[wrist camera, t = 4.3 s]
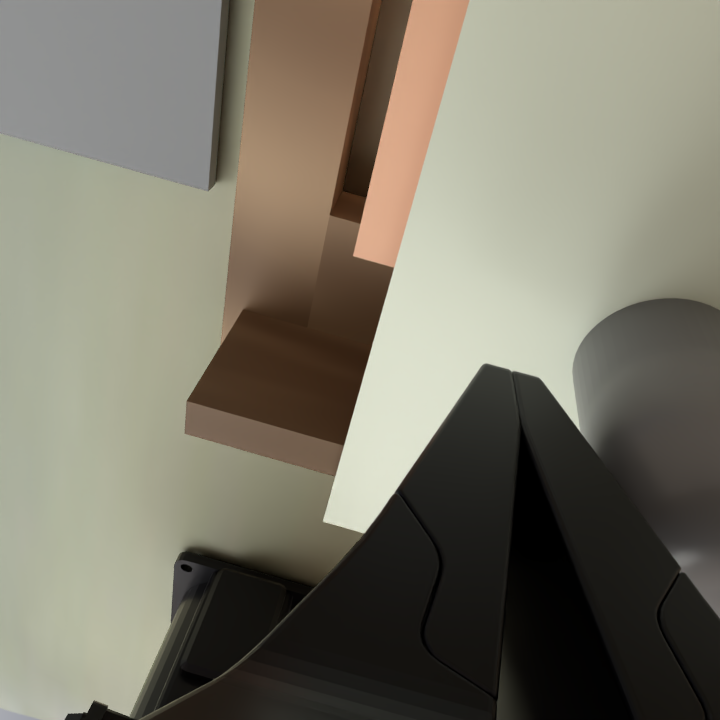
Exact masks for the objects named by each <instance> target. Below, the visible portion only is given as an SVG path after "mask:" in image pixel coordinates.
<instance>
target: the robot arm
mask: <svg viewBox="0 0 720 720" xmlns="http://www.w3.org/2000/svg"><path fill="white" fill-rule="evenodd" d="M680 571H681V567H680V565H679V564H678V563H677V561H676V560H675V559H674V557H673V556H672V555H671V553H670V552H669V550H668V549H667V548H666V546H665V545H664V544H663V542H662V541H661V540H660V538H659V537H658V536H657V534H656V533H655V532H654V530H653V529H652V528H651V526H650V525H649V524H648V522H647V521H646V520H645V518H644V517H643V515H642V514H641V513H640V511H639V510H638V509H637V507H636V506H635V505H634V503H633V502H632V501H631V499H630V498H629V497H628V495H627V494H626V493H625V491H624V490H623V489H622V487H621V486H620V485H619V483H618V482H617V481H616V479H615V478H614V476H613V475H612V474H611V472H610V471H609V470H608V468H607V467H606V466H605V464H604V463H603V462H602V460H601V459H600V458H599V456H598V455H597V454H596V452H595V451H594V450H593V448H592V447H591V446H590V444H589V443H588V441H587V440H586V439H585V437H584V436H583V435H582V433H581V432H580V431H579V429H578V428H577V427H576V425H575V424H574V423H573V421H572V420H571V419H570V417H569V416H568V415H567V413H566V412H565V411H564V409H563V408H562V407H561V405H560V404H559V402H558V401H557V400H556V398H555V397H554V396H553V394H552V393H551V392H550V390H549V389H548V388H547V386H546V385H545V384H544V382H543V381H542V380H541V379H540V378H539V377H536V376H532V375H529V374H525V373H521V372H517V371H511V370H509V369H506V368H502V367H499V366H495V365H491V364H487V363H485V364H483V365H482V366H481V367H480V369H479V370H478V371H477V373H476V374H475V376H474V377H473V379H472V380H471V382H470V383H469V385H468V386H467V387H466V389H465V390H464V392H463V393H462V395H461V396H460V398H459V399H458V401H457V402H456V404H455V405H454V406H453V408H452V409H451V411H450V412H449V414H448V415H447V417H446V418H445V420H444V421H443V422H442V424H441V425H440V427H439V428H438V430H437V431H436V433H435V434H434V436H433V437H432V438H431V440H430V441H429V443H428V444H427V446H426V447H425V449H424V450H423V452H422V453H421V454H420V456H419V457H418V459H417V460H416V462H415V463H414V465H413V466H412V468H411V469H410V471H409V472H408V473H407V475H406V476H405V478H404V479H403V481H402V482H401V484H400V485H399V487H398V488H397V489H396V491H395V493H394V494H393V495H392V496H391V497H390V499H389V500H388V502H387V503H386V505H385V506H384V508H383V509H382V511H381V512H380V513H379V515H378V516H377V517H376V519H375V520H374V521H373V523H372V524H371V525H370V527H369V528H368V529H367V531H366V532H365V533H364V535H363V536H362V537H361V538H360V540H359V541H358V542H357V543H356V544H355V545H354V546H353V547H352V548H351V550H350V551H349V552H348V553H347V554H346V555H345V556H344V557H343V558H342V560H341V561H340V562H339V563H338V564H337V565H336V566H335V567H334V568H333V569H332V570H331V571H330V572H329V573H328V574H327V575H326V576H325V577H324V578H323V579H322V580H321V581H320V583H319V584H318V585H317V586H316V587H315V588H312V587H308V586H305V585H301V584H298V583H295V582H291V581H288V580H284V579H281V578H277V577H274V576H270V575H267V574H263V573H260V572H256V571H253V570H249V569H246V568H242V567H239V566H235V565H232V564H228V563H225V562H221V561H218V560H215V559H211V558H208V557H204V556H201V555H197V554H194V553H190V552H182V553H180V554H179V556H178V558H177V560H176V562H175V565H174V580H173V597H172V614H171V625H170V628H169V630H168V632H167V634H166V636H165V639H164V641H163V643H162V645H161V648H160V650H159V652H158V654H157V656H156V659H155V661H154V663H153V665H152V668H151V670H150V672H149V674H148V677H147V679H146V681H145V683H144V685H143V688H142V690H141V692H140V694H139V697H138V699H137V701H136V703H135V705H134V708H133V710H132V712H131V714H130V717H128V716H126V715H123V714H120V713H118V712H115V711H112V710H110V709H107V708H108V705H105V704H102V703H100V702H97V701H93V703H92V705H91V707H90V709H89V711H88V713H85V712H84V713H78V714H68V715H67V717H66V718H65V720H720V618H719V617H718V615H717V614H716V613H715V611H714V610H713V609H712V608H711V606H710V605H709V604H708V602H707V601H706V600H705V599H704V597H703V596H702V594H701V593H700V592H699V590H698V589H697V588H696V586H695V585H694V584H693V582H692V581H691V580H690V578H689V577H688V576H687V574H686V573H684V572H681V573H680Z"/></svg>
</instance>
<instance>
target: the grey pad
mask: <svg viewBox="0 0 720 720" xmlns="http://www.w3.org/2000/svg"><path fill="white" fill-rule="evenodd" d="M229 1H230V0H0V133H1V134H5V135H8V136H12V137H16V138H19V139H23V140H26V141H30V142H33V143H37V144H41V145H44V146H48V147H51V148H55V149H58V150H62V151H66V152H69V153H73V154H76V155H80V156H83V157H87V158H91V159H94V160H98V161H101V162H105V163H109V164H112V165H116V166H119V167H123V168H126V169H130V170H134V171H137V172H141V173H144V174H148V175H151V176H155V177H159V178H162V179H166V180H169V181H173V182H176V183H180V184H184V185H187V186H191V187H194V188H198V189H201V190H205V191H209V190H210V189H211V188H212V187H213V186H214V185H215V180H216V167H217V154H218V142H219V129H220V116H221V103H222V90H223V78H224V65H225V52H226V39H227V27H228V14H229Z"/></svg>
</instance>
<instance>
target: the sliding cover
mask: <svg viewBox="0 0 720 720" xmlns="http://www.w3.org/2000/svg"><path fill="white" fill-rule="evenodd" d="M485 363H487V364H491V365H495V366H499V367H502V368H506V369H509V370H511V371H517V372H521V373H525V374H529V375H532V376H536V377H539V378H540V379H541V380H542V381H543V382H544V384H545V385H546V386H547V388H548V389H549V390H550V392H551V393H552V394H553V396H554V397H555V398H556V400H557V401H558V402H559V404H560V405H561V407H562V408H563V409H564V411H565V412H566V413H567V415H568V416H569V417H570V419H571V420H572V421H573V423H574V424H575V425H576V427H577V428H578V429H579V431H580V432H581V433H582V435H583V436H584V437H585V439H586V440H587V441H588V443H589V444H590V446H591V447H592V448H593V450H594V451H595V452H596V454H597V455H598V456H599V458H600V459H601V460H602V462H603V463H604V464H605V466H606V467H607V468H608V470H609V471H610V472H611V474H612V475H613V476H614V478H615V479H616V481H617V482H618V483H619V485H620V486H621V487H622V489H623V490H624V491H625V493H626V494H627V495H628V497H629V498H630V499H631V501H632V502H633V503H634V505H635V506H636V507H637V509H638V510H639V511H640V513H641V514H642V515H643V517H644V518H645V520H646V521H647V522H648V524H649V525H650V526H651V528H652V529H653V530H654V532H655V533H656V534H657V536H658V537H659V538H660V540H661V541H662V542H663V544H664V545H665V546H666V548H667V549H668V550H669V552H670V553H671V555H672V556H673V557H674V559H675V560H676V561H677V563H678V564H679V565H680V567H681V571H680V573H681V572H684V573H686V574H687V576H688V577H689V578H690V580H691V581H692V582H693V584H694V585H695V586H696V588H697V589H698V590H699V592H700V593H701V594H702V596H703V597H704V599H705V600H706V601H707V602H708V604H709V605H710V606H711V608H712V609H713V610H714V611H715V613H716V614H717V615H718V617H719V618H720V0H469V4H468V8H467V11H466V15H465V18H464V22H463V25H462V29H461V32H460V36H459V40H458V43H457V47H456V50H455V54H454V57H453V61H452V64H451V68H450V71H449V75H448V79H447V82H446V86H445V89H444V93H443V96H442V100H441V103H440V107H439V111H438V114H437V118H436V121H435V125H434V128H433V132H432V135H431V139H430V142H429V146H428V150H427V153H426V157H425V160H424V164H423V167H422V171H421V174H420V178H419V182H418V185H417V189H416V192H415V196H414V199H413V203H412V206H411V210H410V213H409V217H408V221H407V224H406V228H405V231H404V235H403V238H402V242H401V245H400V249H399V253H398V256H397V260H396V263H395V267H394V270H393V274H392V277H391V281H390V284H389V288H388V292H387V295H386V299H385V302H384V306H383V309H382V313H381V316H380V320H379V324H378V327H377V331H376V334H375V338H374V341H373V345H372V348H371V352H370V355H369V359H368V363H367V366H366V370H365V373H364V377H363V380H362V384H361V387H360V391H359V394H358V398H357V402H356V405H355V409H354V412H353V416H352V419H351V423H350V426H349V430H348V434H347V437H346V441H345V444H344V448H343V451H342V455H341V458H340V462H339V465H338V469H337V473H336V476H335V480H334V483H333V487H332V490H331V494H330V497H329V501H328V505H327V508H326V512H325V515H324V519H323V522H326V523H329V524H333V525H336V526H340V527H343V528H347V529H350V530H354V531H357V532H361V533H365V532H366V531H367V529H368V528H369V527H370V525H371V524H372V523H373V521H374V520H375V519H376V517H377V516H378V515H379V513H380V512H381V511H382V509H383V508H384V506H385V505H386V503H387V502H388V500H389V499H390V497H391V496H392V495H393V494H394V493H395V491H396V489H397V488H398V487H399V485H400V484H401V482H402V481H403V479H404V478H405V476H406V475H407V473H408V472H409V471H410V469H411V468H412V466H413V465H414V463H415V462H416V460H417V459H418V457H419V456H420V454H421V453H422V452H423V450H424V449H425V447H426V446H427V444H428V443H429V441H430V440H431V438H432V437H433V436H434V434H435V433H436V431H437V430H438V428H439V427H440V425H441V424H442V422H443V421H444V420H445V418H446V417H447V415H448V414H449V412H450V411H451V409H452V408H453V406H454V405H455V404H456V402H457V401H458V399H459V398H460V396H461V395H462V393H463V392H464V390H465V389H466V387H467V386H468V385H469V383H470V382H471V380H472V379H473V377H474V376H475V374H476V373H477V371H478V370H479V369H480V367H481V366H482V365H483V364H485Z"/></svg>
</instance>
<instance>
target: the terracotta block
mask: <svg viewBox="0 0 720 720" xmlns="http://www.w3.org/2000/svg"><path fill="white" fill-rule="evenodd" d="M468 4H469V0H413V2H412V6H411V10H410V15H409V19H408V23H407V27H406V32H405V36H404V40H403V44H402V49H401V53H400V57H399V62H398V66H397V70H396V74H395V79H394V83H393V87H392V91H391V96H390V100H389V104H388V109H387V113H386V117H385V121H384V126H383V130H382V134H381V138H380V143H379V147H378V151H377V156H376V160H375V164H374V168H373V173H372V177H371V181H370V185H369V190H368V194H367V198H366V203H365V207H364V211H363V215H362V220H361V224H360V228H359V232H358V237H357V241H356V245H355V250H354V254H353V256H355V257H358V258H362V259H365V260H369V261H372V262H376V263H379V264H383V265H387V266H390V267H395V263H396V260H397V256H398V253H399V249H400V245H401V242H402V238H403V235H404V231H405V228H406V224H407V221H408V217H409V213H410V210H411V206H412V203H413V199H414V196H415V192H416V189H417V185H418V182H419V178H420V174H421V171H422V167H423V164H424V160H425V157H426V153H427V150H428V146H429V142H430V139H431V135H432V132H433V128H434V125H435V121H436V118H437V114H438V111H439V107H440V103H441V100H442V96H443V93H444V89H445V86H446V82H447V79H448V75H449V71H450V68H451V64H452V61H453V57H454V54H455V50H456V47H457V43H458V40H459V36H460V32H461V29H462V25H463V22H464V18H465V15H466V11H467V8H468Z"/></svg>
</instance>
